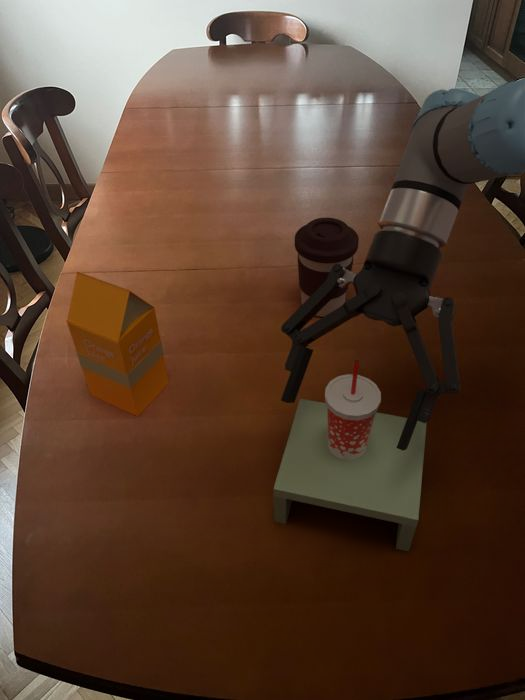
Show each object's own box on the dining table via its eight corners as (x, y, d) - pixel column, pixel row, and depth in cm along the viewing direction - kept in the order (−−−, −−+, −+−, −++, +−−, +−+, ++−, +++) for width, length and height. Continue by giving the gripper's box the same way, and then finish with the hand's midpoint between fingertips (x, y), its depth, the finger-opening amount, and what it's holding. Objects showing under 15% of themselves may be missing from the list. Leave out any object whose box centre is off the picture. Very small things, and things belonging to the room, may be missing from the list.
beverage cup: (377, 464, 68) (393, 380, 59) (325, 467, 68) (331, 385, 58) (367, 423, 73) (379, 339, 63) (317, 426, 73) (323, 343, 63)
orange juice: (137, 417, 83) (109, 308, 70) (89, 395, 87) (53, 287, 73) (170, 382, 88) (149, 273, 75) (123, 362, 92) (95, 255, 78)
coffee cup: (342, 283, 105) (349, 208, 94) (359, 319, 98) (368, 242, 87) (288, 290, 104) (288, 215, 93) (300, 327, 97) (302, 250, 86)
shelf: (408, 552, 68) (418, 520, 63) (273, 521, 71) (273, 488, 66) (417, 455, 78) (426, 421, 73) (298, 432, 81) (299, 398, 76)
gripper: (528, 279, 62) (457, 466, 63) (315, 221, 72) (257, 385, 73) (531, 263, 55) (452, 474, 56) (296, 201, 65) (231, 383, 66)
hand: (342, 424), depth 65 cm, fingers open, 13 cm apart
